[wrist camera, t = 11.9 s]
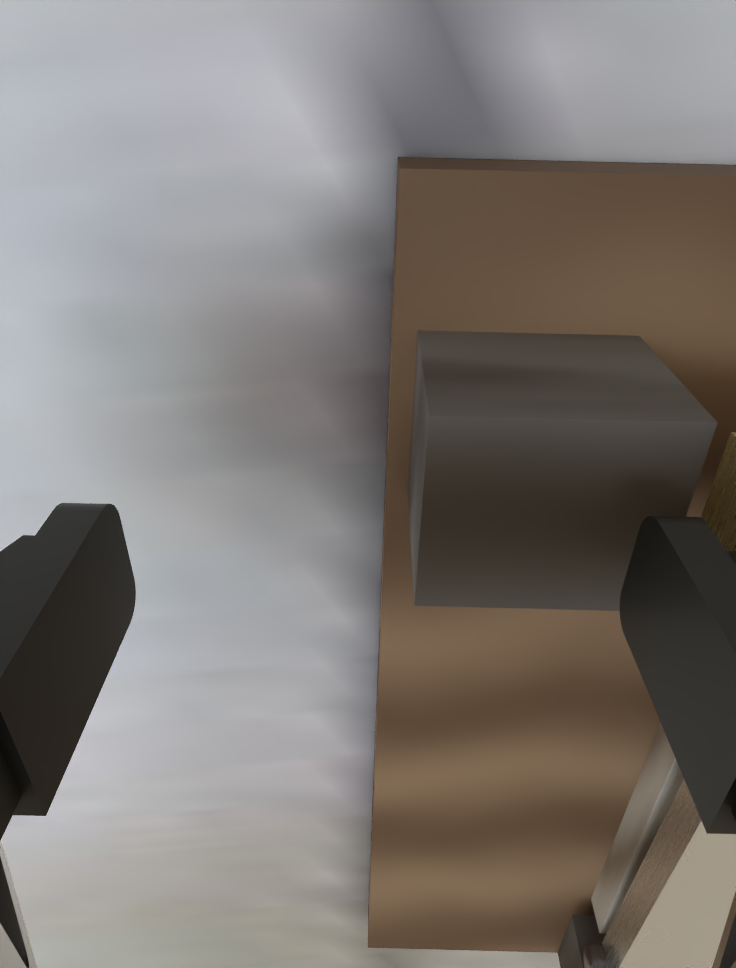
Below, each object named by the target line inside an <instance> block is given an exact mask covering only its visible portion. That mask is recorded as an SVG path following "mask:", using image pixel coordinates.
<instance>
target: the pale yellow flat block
mask: <svg viewBox="0 0 736 968" xmlns="http://www.w3.org/2000/svg"><path fill="white" fill-rule="evenodd" d="M701 518H703V519H704V520H705V521H706V522H707V524H708V525H709V526H710V528H711V529H712V531H713V532H714V534H715V535H716V537H717V538H718V539H719V541H720V542H721V544H722V545H723V547H724V548H725V550H726V551H736V432H731V433H730V436H729V439H728V442H727V444H726V447H725V450H724V453H723V456H722V459H721V461H720V464H719V467H718V470H717V473H716V475H715V478H714V481H713V484H712V487H711V490H710V492H709V495H708V498H707V501H706V504H705V507H704V509H703V512H702V515H701Z"/></svg>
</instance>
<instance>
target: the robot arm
mask: <svg viewBox="0 0 736 968" xmlns="http://www.w3.org/2000/svg"><path fill="white" fill-rule="evenodd" d="M135 595H136V591H135V581H134V576H133V572H132V567H131V563H130V559H129V554H128V550H127V546H126V541H125V537H124V533H123V528H122V524H121V520H120V516H119V513H118V511H117V509H116V507H115V506H114V505H112V504H82V503H61V504H59V505H58V506H56V508H55V509H54V510H53V511H52V513H51V514H50V516H49V517H48V518H47V520H46V521H45V523H44V524H43V525H42V527H41V528H40V530H39V531H38V533H37V534H36V535H35V536H28V535H23V536H22V537H20V538H19V539H17V540H16V541H15V542H13V543H12V544H10V545H9V546H8V547H6V548H5V549H3V550H2V551H0V840H1V838H2V836H3V834H4V832H5V830H6V828H7V826H8V823H9V821H10V819H11V817H12V815H35V816H46V814H47V812H48V810H49V807H50V805H51V803H52V801H53V798H54V796H55V794H56V791H57V789H58V787H59V785H60V782H61V780H62V778H63V775H64V773H65V771H66V769H67V766H68V764H69V762H70V759H71V757H72V755H73V752H74V750H75V748H76V746H77V743H78V741H79V739H80V736H81V734H82V732H83V730H84V727H85V725H86V723H87V720H88V718H89V716H90V714H91V711H92V709H93V707H94V704H95V702H96V700H97V698H98V695H99V693H100V691H101V688H102V686H103V684H104V682H105V679H106V677H107V675H108V672H109V670H110V668H111V666H112V663H113V661H114V659H115V656H116V654H117V652H118V649H119V647H120V645H121V643H122V640H123V638H124V636H125V633H126V631H127V629H128V627H129V624H130V622H131V619H132V616H133V612H134V606H135ZM619 610H620V621H621V626H622V630H623V633H624V636H625V638H626V640H627V643H628V645H629V648H630V650H631V652H632V655H633V657H634V660H635V662H636V664H637V667H638V669H639V672H640V674H641V676H642V679H643V681H644V684H645V686H646V688H647V691H648V693H649V696H650V698H651V700H652V703H653V705H654V708H655V710H656V712H657V715H658V717H659V720H660V722H661V724H662V727H663V729H664V732H665V734H666V736H667V739H668V741H669V744H670V746H671V749H672V751H673V753H674V756H675V758H676V761H677V763H678V765H679V768H680V770H681V773H682V775H683V777H684V780H685V782H686V785H687V787H688V789H689V792H690V794H691V797H692V799H693V801H694V804H695V806H696V809H697V811H698V813H699V816H700V818H701V821H702V823H703V825H704V828H705V830H706V833H707V834H736V551H726V550H725V548H724V547H723V545H722V544H721V542H720V541H719V539H718V538H717V537H716V535H715V534H714V532H713V531H712V529H711V528H710V526H709V525H708V524H707V522H706V521H705V520H704V519H703V518H701V517H681V516H648V517H646V518H645V519H644V520H643V521H642V523H641V525H640V528H639V531H638V535H637V538H636V542H635V545H634V549H633V552H632V556H631V559H630V563H629V566H628V569H627V573H626V576H625V580H624V583H623V587H622V590H621V595H620V607H619ZM0 968H37V966H36V962H35V959H34V955H33V952H32V948H31V945H30V941H29V938H28V934H27V930H26V927H25V923H24V920H23V916H22V913H21V909H20V905H19V902H18V898H17V895H16V891H15V888H14V884H13V880H12V877H11V873H10V870H9V866H8V863H7V859H6V855H5V852H4V849H3V847H2V844H1V842H0ZM712 968H736V892H735V895H734V898H733V901H732V905H731V908H730V911H729V914H728V918H727V921H726V924H725V927H724V931H723V934H722V937H721V940H720V944H719V947H718V950H717V953H716V957H715V960H714V963H713V966H712Z"/></svg>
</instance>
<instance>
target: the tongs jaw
mask: <svg viewBox="0 0 736 968" xmlns="http://www.w3.org/2000/svg"><path fill="white" fill-rule="evenodd" d="M735 892H736V834H707V833H706V830H705V828H704V825H703V823H702V821H701V818H700V816H699V813H698V811H697V809H696V806H695V804H694V801H693V799H692V797H691V794H690V792H689V789H688V787H687V785H686V782H685V780H683V782H682V784H681V786H680V788H679V790H678V792H677V794H676V796H675V798H674V800H673V802H672V804H671V806H670V808H669V810H668V812H667V814H666V816H665V818H664V820H663V822H662V824H661V826H660V828H659V830H658V832H657V834H656V836H655V838H654V840H653V842H652V844H651V846H650V848H649V850H648V852H647V854H646V856H645V858H644V860H643V862H642V864H641V866H640V868H639V870H638V872H637V874H636V876H635V878H634V880H633V882H632V884H631V886H630V888H629V890H628V892H627V894H626V896H625V898H624V900H623V902H622V904H621V906H620V908H619V910H618V912H617V914H616V916H615V918H614V920H613V922H612V924H611V926H610V928H609V930H608V932H607V934H606V936H605V938H604V940H603V942H602V944H585V946H584V953H583V957H584V968H709V967H710V965H711V964H712V962H713V961H714V960H715V957H716V953H717V950H718V947H719V944H720V940H721V937H722V934H723V931H724V927H725V924H726V921H727V918H728V914H729V911H730V908H731V905H732V901H733V898H734V895H735Z"/></svg>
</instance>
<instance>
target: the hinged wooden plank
mask: <svg viewBox="0 0 736 968" xmlns="http://www.w3.org/2000/svg"><path fill="white" fill-rule="evenodd" d="M731 432H736V165H709V164H666V163H623V162H580V161H537V160H494V159H451V158H407V157H398V168H397V193H396V219H395V244H394V270H393V296H392V321H391V347H390V372H389V398H388V423H387V449H386V474H385V500H384V525H383V551H382V576H381V602H380V627H379V653H378V679H377V704H376V730H375V755H374V781H373V806H372V832H371V857H370V883H369V908H368V947H370V948H407V949H445V950H482V951H519V952H557V953H558V956H559V961H560V966H561V968H584V957H583V953H584V946H585V944H602V942H603V940H604V938H605V936H606V934H607V932H608V930H609V928H610V926H611V924H612V922H613V920H614V918H615V916H616V914H617V912H618V910H619V908H620V906H621V904H622V902H623V900H624V898H625V896H626V894H627V892H628V890H629V888H630V886H631V884H632V882H633V880H634V878H635V876H636V874H637V872H638V870H639V868H640V866H641V864H642V862H643V860H644V858H645V856H646V854H647V852H648V850H649V848H650V846H651V844H652V842H653V840H654V838H655V836H656V834H657V832H658V830H659V828H660V826H661V824H662V822H663V820H664V818H665V816H666V814H667V812H668V810H669V808H670V806H671V804H672V802H673V800H674V798H675V796H676V794H677V792H678V790H679V788H680V786H681V784H682V782H683V780H684V777H683V775H682V773H681V770H680V768H679V765H678V763H677V761H676V758H675V756H674V753H673V751H672V749H671V746H670V744H669V741H668V739H667V736H666V734H665V732H664V729H663V727H662V724H661V722H660V720H659V717H658V715H657V712H656V710H655V708H654V705H653V703H652V700H651V698H650V696H649V693H648V691H647V688H646V686H645V684H644V681H643V679H642V676H641V674H640V672H639V669H638V667H637V664H636V662H635V660H634V657H633V655H632V652H631V650H630V648H629V645H628V643H627V640H626V638H625V636H624V633H623V630H622V626H621V621H620V610H619V607H620V595H621V590H622V587H623V583H624V580H625V576H626V573H627V569H628V566H629V563H630V559H631V556H632V552H633V549H634V545H635V542H636V538H637V535H638V531H639V528H640V525H641V523H642V521H643V520H644V519H645V518H646V517H648V516H681V517H701V515H702V512H703V509H704V507H705V504H706V501H707V498H708V495H709V492H710V490H711V487H712V484H713V481H714V478H715V475H716V473H717V470H718V467H719V464H720V461H721V459H722V456H723V453H724V450H725V447H726V444H727V442H728V439H729V436H730V433H731Z"/></svg>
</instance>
